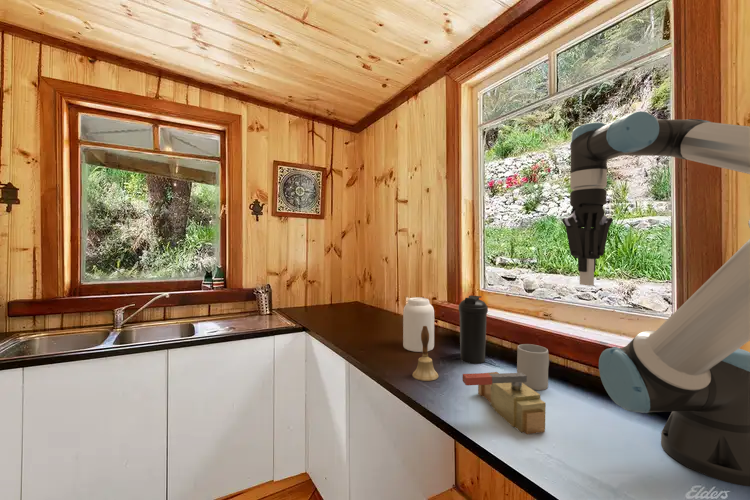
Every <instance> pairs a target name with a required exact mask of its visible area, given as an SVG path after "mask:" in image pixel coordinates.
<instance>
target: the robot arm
mask: <svg viewBox="0 0 750 500" xmlns="http://www.w3.org/2000/svg"><path fill="white" fill-rule="evenodd" d="M570 141H571V142H570V146H569V147H570V190H572V191H571V192H570V193H569V194H570V197H569V198H570V199H569V200H570V201H569V205H570V206H571V207H572V209H571V211H570V215H568V216H567V217H563V218H562V219H561V221H562V223H563V225H564V227H565V232H566V237H567V241H568V242H567V243H568V246H569V252H570V255H571V256H572V257H574V259H577V262H578V264H577V265H578V266H577V267H578V268H577V270H578V272H579V285H581V286H587V287H589V286H591V287H592V286H594V285H595V284H594V283H595V281H594V280H595V272H596V266H597V264H596V263H597V259H598V260H599V259H600V258H601V257H603V256H604V253H605V250H606V244H607V240H608V236H609V235H608V234H609V230H610V227H611V225H612V223H613V221H614V219H613V217H608V216H606V215H605V209H604V205H606V204H607V193H608V191H607V189H605V188H606V187H607V186H608V160H612V159H616V158H617V157H622V156H635V157H636V156H638V157H639V156H640V157H641V156H644V157H645V156H646V157H647V156H648V157H652V156H654V157H655V156H657V157H658V156H659V157H673V158H676V159H681V160H687V161H692V162H696V163H700V164H704V165H709V166H713V167H717V168H721V169H727V170H731V171H735V172H738V173H744V174H748V175H750V126H748V125H738V124H732V123H722V122H713V121H709V120H706V119H705V120H703V119H699V118H696V119H694V118H690V119H689V118H688V119H663V118H661V119H659V118H656V116H654V115H653V114H650V113H649V112H647V111H635V112H632V113H629V114H627V115H626V114H625V115H623V116H621V117H619V118H617V119H615V120H614V121H612V122H611V121H610V123H608V124H606V123H605V122H599V121H598V122H597V121H595V122H588V123H584V124H580V125H579V126H577V127H575V128H574V129H573V130H572V132H571V139H570ZM748 227H749V228H748V229H750V219H749V220H748ZM594 287H595V286H594ZM749 342H750V238H749V239H748V240H747V241H746V242H745V243H743V245H742V246H741V247H740V248H738V250H737V251H736V252H735V253H734V254H732V256H730V258H729V259H728V260H726V262H724V263H723V264H722V266H720V268H718V270H716V271H715V272H714V273H713V274H712V275H711V276H710V277H709V278H708V279H706V281H705V282H704V283H703V284H701V286H700V287H699V288H697V290H696V291H695V292H694V293H693V294H692V295H690V297H688V299H687V300H686V301H685V302H684V303H683V304H682V305H681V306H679V307H678V309H677V310H675V311H674V312H673V313H672V314H671V315H670V317H668V319H666V321H664V322H663V323H662V324H661V325H660V326H659V327H658V328H657V329H656V330H644V331H641V332H640V333H638V334H637V335H636V336H635V337H634V338H632V340H630V342H629V343H628V344H627V345H625V346H622V347H617V346H613V347H610V348H609V347H608V348H606V349H604V350H603V351H602V352H601V354H600V356H599V358H598V370H599V377H600V380H601V383H602V385H603V387H604V389H605V391H606V393H607V394H608V396H609V397H610V399H611V400H612V401H613V402H614V403H615V404H616V405H617V406H618V407H620V408H622V409H623V410H625V411H627V412H634V413H643V414H648V413H662V412H668V413H669V412H671V413H670V415H669V417H668V419H667V421H666V422H665V424H664V426H663V428H662V430H661V436H660V444H661V448H662V449H663V451H665V453H667V454H668V455H669V457H671V458H673V459H674V460H675V461H677V462H678V463H680V464H681V465H683V466H685V467H687V468H688V469H690V470H693V471H695V472H697V473H699V474H702V475H705V476H707V477H709V478H712V479H715V480H717V481H721V482H725V483H729V484H732V485H733V484H734V485H737V486H741V487H742V486H743V487H750V351H748V350H746V349H742V346H744V345H746V344H747V343H749Z"/></svg>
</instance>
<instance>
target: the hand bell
mask: <svg viewBox="0 0 750 500" xmlns="http://www.w3.org/2000/svg"><path fill="white" fill-rule="evenodd" d="M421 341H422V345H423V352H421V353H422V356H421V357H419V358H418V359H417V366H416V369H415V370H414V371H413V372H412V375H411V376H412V377H413V379H416V380H418V381H422V382H430V381H435V380H438V378H439V373H438V372H437V371H436V370H435V368H434V363H433V359H432V358H431V357H429V353H428V352H429V351H428V342H429V332H428V329H427V326H423V329H422V332H421Z"/></svg>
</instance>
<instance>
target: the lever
mask: <svg viewBox="0 0 750 500" xmlns="http://www.w3.org/2000/svg"><path fill="white" fill-rule="evenodd" d="M488 373H489V372H482V373H481V372H479V373H462V382H463V384H464V385H465V386H478V385H491V384H492V383H511V388H512V389H513V390H515V391H521V390H522V382H527V376H526V375H525V374H523V373H517V372H505V373H504V372H503V373H499V374H488Z"/></svg>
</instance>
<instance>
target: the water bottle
mask: <svg viewBox="0 0 750 500" xmlns="http://www.w3.org/2000/svg"><path fill="white" fill-rule="evenodd" d="M480 298H482V296H480V295H468V297H465V298H464V299H463V300H461V302H460V303H459V304H458V312H459V343H460V344H459V345H460V346H459V349H460V350H459V351H460V352H459V354H460V360H461V362H463V363H466V364H474V365H478V364H480V365H481V364H484V363H485V360H486V339H487V315H488V312H489V311H488V309H489V307H488V305H487V303H486V302H485V301H484V300H483V299H482V300H481V299H480Z"/></svg>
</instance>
